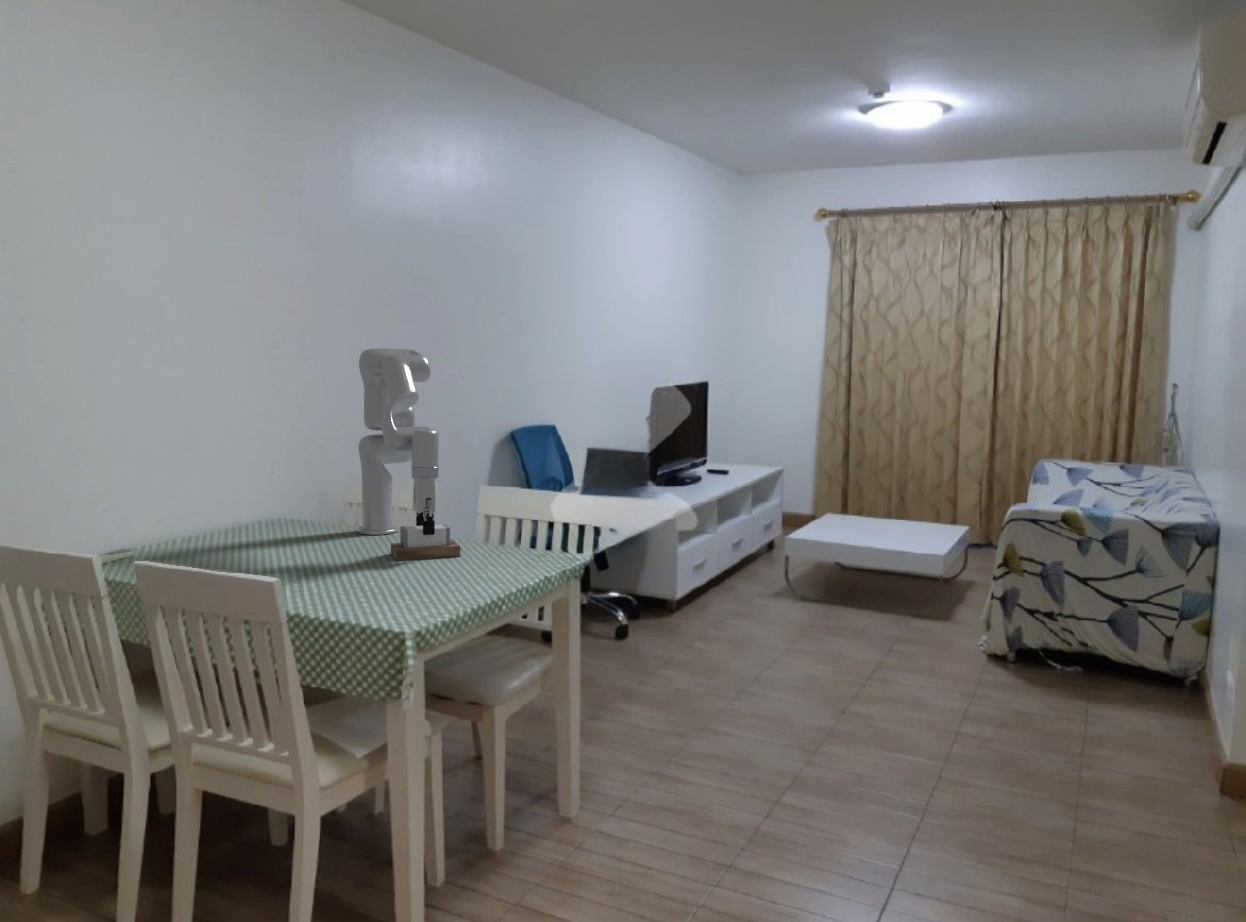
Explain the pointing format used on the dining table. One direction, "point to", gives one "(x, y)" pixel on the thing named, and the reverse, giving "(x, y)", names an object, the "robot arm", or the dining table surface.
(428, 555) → the walnut stand
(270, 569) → the dining table surface
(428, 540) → the block
